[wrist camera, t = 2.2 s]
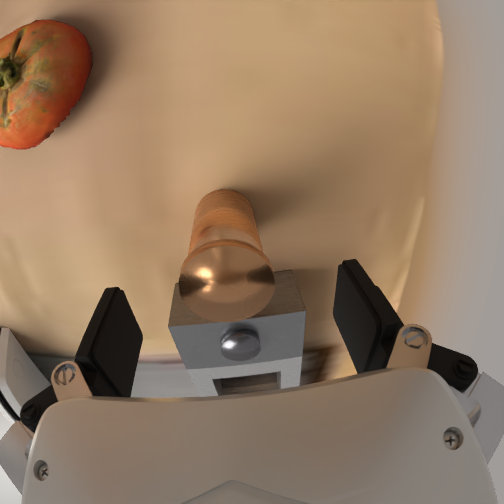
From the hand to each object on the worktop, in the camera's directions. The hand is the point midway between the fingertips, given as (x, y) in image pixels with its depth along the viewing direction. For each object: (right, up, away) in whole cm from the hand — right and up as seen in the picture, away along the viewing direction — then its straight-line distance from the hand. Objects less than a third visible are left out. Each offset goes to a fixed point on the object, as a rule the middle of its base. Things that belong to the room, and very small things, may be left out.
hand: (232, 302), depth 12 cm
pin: (-1, +4, +5) cm, 7 cm away
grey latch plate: (0, -7, +12) cm, 14 cm away
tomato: (-12, +12, -1) cm, 17 cm away
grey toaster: (-26, -13, +13) cm, 32 cm away
